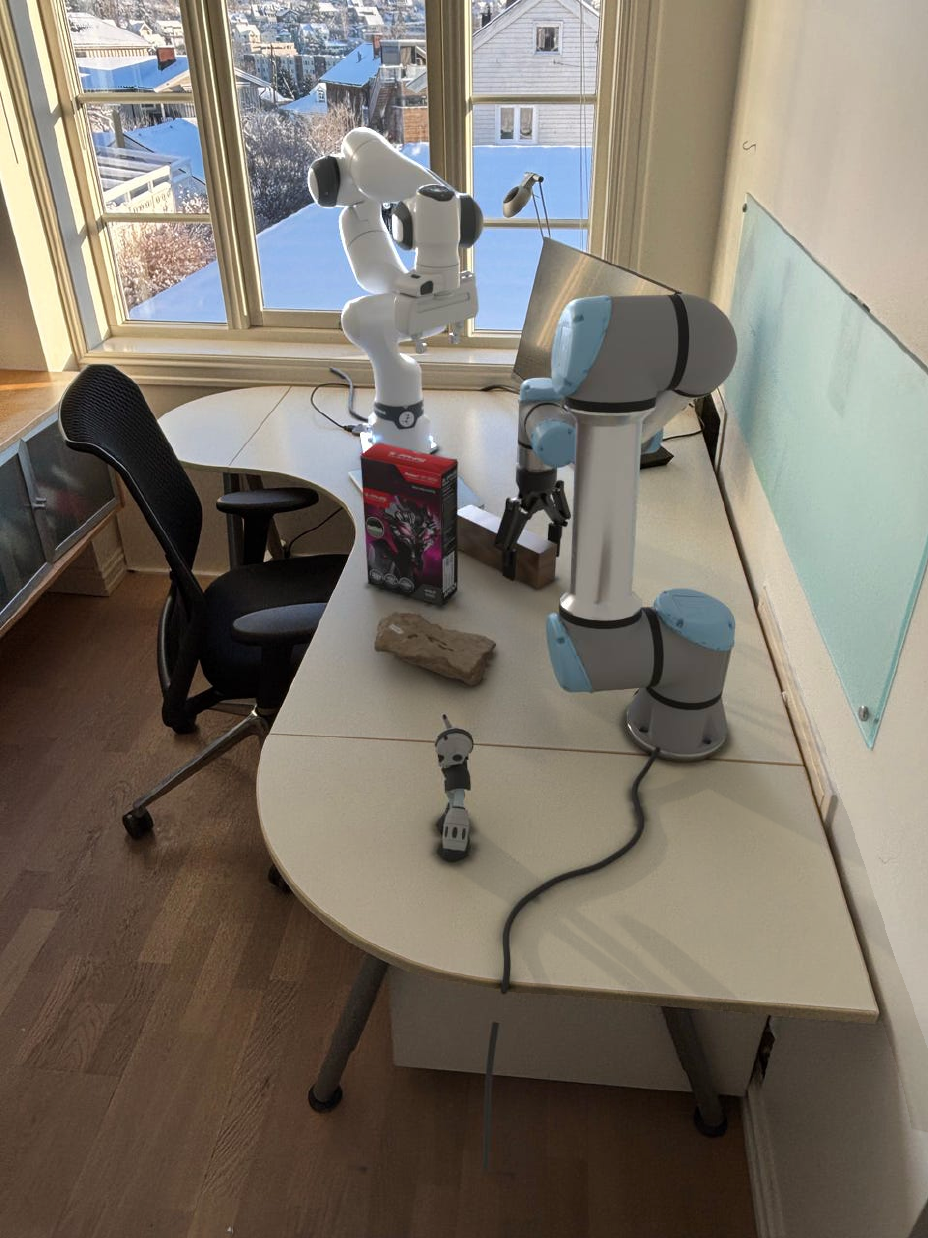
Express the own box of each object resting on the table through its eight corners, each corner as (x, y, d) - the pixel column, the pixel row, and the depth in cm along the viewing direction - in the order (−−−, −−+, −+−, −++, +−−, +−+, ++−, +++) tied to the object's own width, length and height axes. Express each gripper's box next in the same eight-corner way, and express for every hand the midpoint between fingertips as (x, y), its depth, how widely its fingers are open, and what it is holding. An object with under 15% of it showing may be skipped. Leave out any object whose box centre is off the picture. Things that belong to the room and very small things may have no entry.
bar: (554, 579, 180) (557, 544, 176) (537, 588, 177) (539, 553, 173) (470, 537, 194) (470, 504, 190) (452, 545, 191) (452, 512, 187)
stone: (350, 659, 152) (357, 626, 150) (382, 628, 166) (388, 598, 163) (469, 701, 149) (478, 669, 146) (492, 666, 162) (500, 636, 160)
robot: (476, 896, 116) (478, 779, 105) (437, 897, 116) (436, 781, 105) (467, 786, 132) (469, 675, 121) (434, 787, 132) (432, 676, 121)
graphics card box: (364, 585, 178) (356, 453, 162) (384, 569, 183) (377, 440, 167) (442, 608, 171) (441, 473, 156) (460, 591, 176) (461, 458, 161)
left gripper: (464, 265, 188) (463, 333, 196) (387, 283, 176) (390, 354, 184) (486, 271, 184) (484, 340, 192) (410, 289, 172) (411, 362, 180)
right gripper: (564, 439, 177) (557, 538, 189) (475, 477, 163) (473, 581, 175) (595, 451, 173) (585, 551, 185) (506, 491, 159) (502, 596, 171)
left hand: (438, 347), depth 188 cm, fingers open, 8 cm apart
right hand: (531, 566), depth 180 cm, fingers open, 12 cm apart
